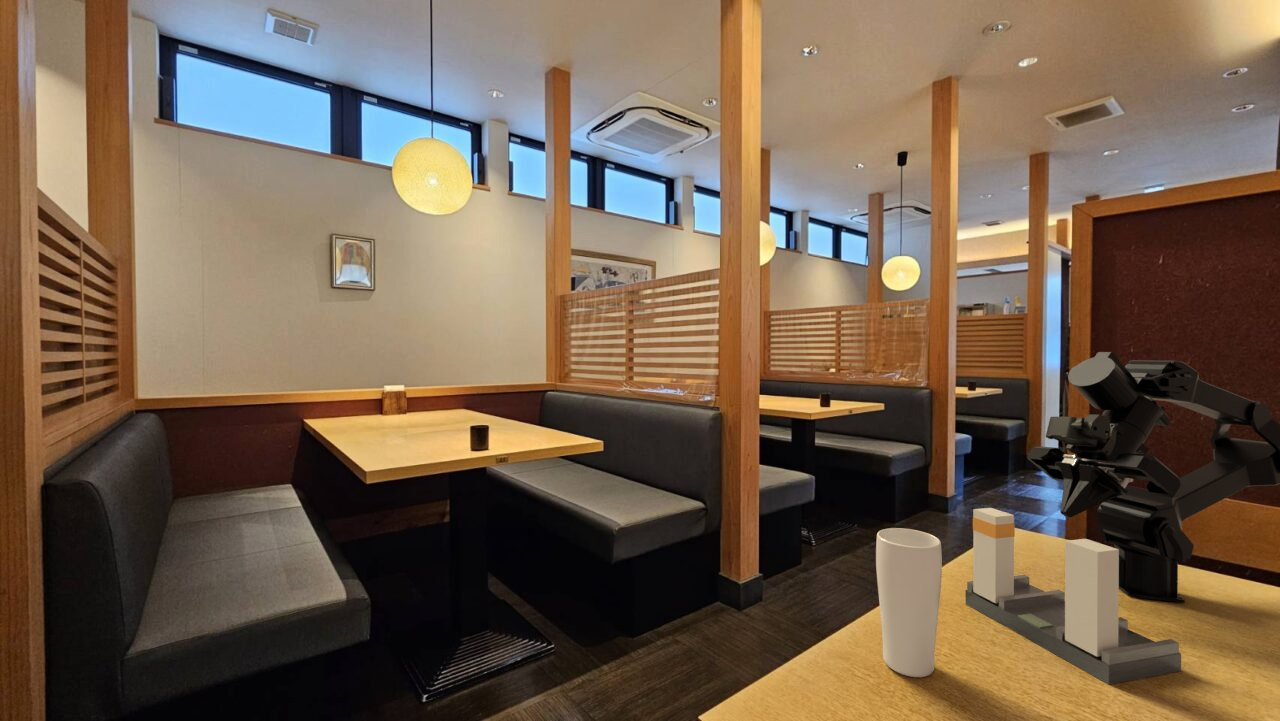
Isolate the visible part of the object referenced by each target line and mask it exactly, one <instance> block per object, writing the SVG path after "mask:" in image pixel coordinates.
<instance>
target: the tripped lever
mask: <svg viewBox="0 0 1280 721" xmlns="http://www.w3.org/2000/svg"><path fill="white" fill-rule="evenodd" d="M972 512H973V516H972V530H973V531H972V532H973V546H972V547H973V549H972V552H973V554H972V555H973V557H972V558H973V560H972V561H973V562H972V564H973V566H972V567H973V572H972V574H973V576H972V577H973V580H972V581H973V592H975V593H977V594H979V595H980V596H982V597H984V598H986V599H988V600H990V601H992V602H994V603H999V598H1002V597H1010V596H1014V576H1015V561H1014V560H1015V530H1016V528H1015V527H1016V526H1015V515H1014V514H1012V513H1009V512H1005V511H1003V510H999V509H996V508H993V507H984V508H983V507H982V508H974V509H973V511H972Z"/></svg>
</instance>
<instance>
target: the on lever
mask: <svg viewBox="0 0 1280 721" xmlns="http://www.w3.org/2000/svg"><path fill="white" fill-rule="evenodd" d="M1064 543H1065V546H1064V548H1065V549H1064V550H1065V551H1064V553H1065V554H1064V559H1065V560H1064V561H1065V562H1064V564H1065V565H1064V567H1065V569H1064V570H1065V571H1064V575H1065V576H1064V592H1065V640H1066V641H1068V642H1070V643H1072V644H1074V645H1076V646H1078V647H1079V648H1081V649H1083V650H1085V651H1087V652H1089V653H1091V654H1093V655H1095V656H1097V657H1099V656H1102V650H1108V649H1114V648H1118V618H1119V602H1120V601H1119V595H1120V594H1119V593H1120V592H1119V590H1120V588H1119V549H1116V548H1115V547H1113V546H1109V545H1106V544H1102V543H1100V542H1098V541H1094V540H1091V539H1087V538H1078V539H1070V540H1065V542H1064Z"/></svg>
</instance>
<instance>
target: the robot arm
mask: <svg viewBox="0 0 1280 721" xmlns="http://www.w3.org/2000/svg"><path fill="white" fill-rule="evenodd" d="M1199 376H1200V373H1199V372H1198V371H1197V370H1196V369H1194V368H1192V366H1190V365H1188V364H1187V363H1185V362H1183V361H1181V360H1152V359H1151V360H1148V359H1147V360H1140V359H1138V360H1137V359H1136V360H1135V359H1133V360H1129V361H1128V362H1127V363H1126V365H1124V364H1123V363H1121V361H1120V360H1119V358H1118V356H1117V355H1116V354H1115V353H1114V351H1098V352H1096V355H1095V356H1094V357H1091V358H1087V359H1085V360H1083V361H1081V362H1079V363H1078V364H1077V365H1076V366H1073V367H1071V369H1070V371H1069V372H1068V376H1067V378H1068V382H1069V383H1070V384H1071V385H1072V386H1073V387H1074V388H1075V389H1076V390H1077V391H1078V392H1079V393H1080V395H1082V396H1083V397H1084V399H1085V400H1086V401H1088V403H1089V404H1090V405H1091V406H1092V407H1093V408H1095V409H1097V410H1100V411H1103V412H1102V414H1087V415H1086V416H1085V417H1076V416H1075V417H1074V416H1050V417H1049V421H1048V425H1047V428H1046V429H1047V430H1046V434H1045V438H1046V439H1049V440H1055V441H1058V442H1061V443H1064V444H1067V445H1066V447H1065V449H1066V450H1068V451H1069V452H1070V453H1072V454H1066V453H1065V452H1064V451H1063V450H1061V449H1060V448H1059V447H1053V446H1034V447H1031V450H1030V451H1029V452H1028V454H1027V455H1026V458H1027V460H1028V461H1030V462H1031V463H1032V464H1034V466H1036V468H1038V469H1039V470H1040V471H1042V472H1043V473H1044V474H1045V475H1047V477H1049V478H1051V480H1054V481H1058V482H1063V489H1062V495H1061V496H1062V497H1061V503H1060V511H1059V512H1060V514H1061V515H1062V516H1063V517H1065V518H1074V517H1075V516H1077V515H1079V514H1081V513H1083V512H1085V511H1087V510H1089V509H1092V508H1094V507H1096V506H1098V505H1099V507H1098V508H1097V511H1096V520H1097V522H1098V526H1099V529H1100V532H1101V536H1102V540H1103V542H1104V543H1106V544H1111V545H1114V548H1116V549H1119V590H1121V591H1122V592H1124V593H1125V594H1126V595H1127V596H1129V597H1132V598H1140V599H1149V600H1156V601H1157V600H1159V601H1167V602H1172V603H1173V602H1175V603H1182V604H1184V603H1185V602H1186V601H1185V600H1186V599H1185V598H1184V597H1183V596H1182V595H1180V594H1179V593H1178V591H1179V588H1178V587H1179V586H1178V584H1179V583H1178V581H1179V563H1180V564H1181V563H1182V564H1183V563H1187V560H1190V559H1192V555H1193V550H1194V546H1195V545H1194V544H1193V542H1192V541H1191V540H1190V538H1189V537H1188V536H1187V535H1186V534H1185V533H1184V531H1183V521H1185V520H1187V519H1190V517H1192V516H1195V515H1196V514H1198V513H1200V512H1202V511H1203V510H1206V509H1207V508H1209V507H1211V506H1213V505H1215V504H1217V503H1219V502H1221V501H1223V500H1225V499H1227V498H1228V497H1231V496H1233V495H1234V494H1236V493H1239V492H1240V491H1242V490H1244V489H1246V488H1249V487H1266V486H1267V487H1269V486H1270V487H1271V486H1278V485H1280V424H1279V423H1278V422H1277V421H1276V420H1275V419H1273V417H1272V414H1271V412H1270V409H1269V407H1268V405H1267V404H1266V403H1264V402H1263V403H1262V402H1260V401H1257V400H1251V399H1248V398H1246V397H1244V396H1241V395H1238V394H1236V393H1233V392H1231V391H1229V390H1226V389H1223V388H1221V387H1219V386H1216V385H1213V384H1210V383H1208V382H1206V381H1204V380H1202V379H1200V377H1199ZM1156 401H1162V402H1168V403H1172V404H1174V405H1177V406H1180V407H1183V408H1185V409H1188V410H1191V411H1193V412H1195V413H1198V414H1201V415H1203V416H1206V417H1210V418H1212V419H1214V422H1215V425H1216V427H1215V429H1214V431H1213V432H1212V435H1211V437H1210V439H1209V440H1210V444H1211V446H1212V453H1213V454H1212V455H1213V460H1212V461H1210V462H1209V463H1207V464H1205V465H1202V466H1201V467H1198V468H1197V469H1195V470H1193V471H1191V472H1189V473H1187V474H1184V475H1183V476H1181V477H1179V476H1178V475H1177V474H1176V473H1175V472H1174V471H1173V470H1171V469H1170V468H1168V466H1166V465H1165V464H1164V463H1163V462H1161V461H1160V460H1159V459H1158V458H1157V457H1155V456H1154V454H1148V452H1149V451H1150V448H1149V447H1147V445H1145V444H1144V443H1145V441H1146V440H1147V439H1148V436H1149V435H1150V434H1151V432H1152V431H1153V429H1154V427H1155V426H1165V427H1169V426H1170V425H1171V420H1170V419H1171V418H1170V416H1168V414H1167V411H1166V407H1165V406H1160V405H1159V404H1158V403H1157V402H1156ZM1231 425H1232V426H1244V427H1252V430H1253V432H1255V433H1256V434H1257V435H1258V436H1259V437H1261V438H1262V439H1263V440H1264V441H1258V440H1252V439H1251V440H1250V439H1242V438H1235V437H1231V435H1230V432H1229V429H1230V427H1231ZM1134 480H1139V481H1148V483H1147V485H1146V488H1141V487H1138V486H1132V485H1128V484H1130V483H1132V482H1134Z"/></svg>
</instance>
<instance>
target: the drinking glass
mask: <svg viewBox="0 0 1280 721" xmlns="http://www.w3.org/2000/svg"><path fill="white" fill-rule="evenodd" d="M942 562H943V560H942V543H941V540H940V539H939V538H938V537H936V536H934V535H933V534H931V533H927V532H924V531H920V530H916V529H911V528H900V527H898V528H897V527H890V528H885V529H884V528H883V529H881V530H879V531H878V532H877V534H876V546H875V566H876V567H875V568H876V569H875V570H876V571H875V572H876V581H877V583H876V584H877V591H878V592H877V593H878V600H879V601H878V604H879V613H880V624H881V636H882V658H883V661H884V662H885V664H886V666H888V667H889V668H890V669H892V670H893V671H895V672H896V673H898V674H900V675H903V676H907V677H910V678H924V677H925V678H926V677H928V676H930V675H931V674H932V673H933V672H934V670H935V668H936V667H935V665H936V662H935V659H936V658H935V655H936V654H935V652H936V641H937V630H938V620H939V609H940V602H941V601H940V600H941V599H940V598H941V588H942V578H943V576H942V575H943V563H942Z"/></svg>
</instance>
